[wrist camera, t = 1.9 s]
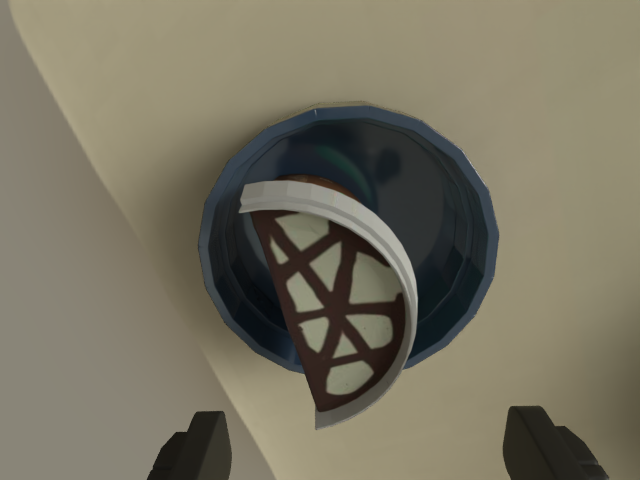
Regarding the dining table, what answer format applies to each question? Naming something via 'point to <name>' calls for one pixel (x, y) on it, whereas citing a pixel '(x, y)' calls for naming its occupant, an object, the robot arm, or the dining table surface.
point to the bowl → (376, 195)
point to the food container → (336, 289)
